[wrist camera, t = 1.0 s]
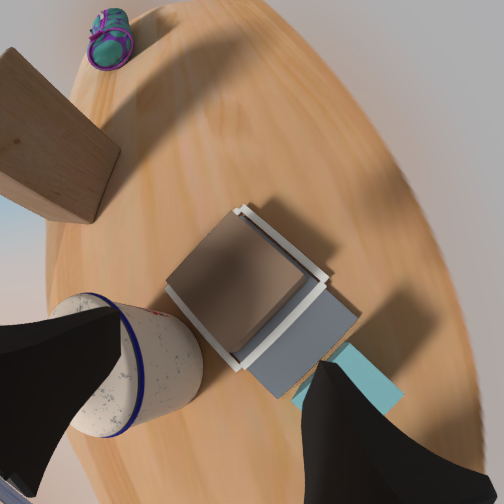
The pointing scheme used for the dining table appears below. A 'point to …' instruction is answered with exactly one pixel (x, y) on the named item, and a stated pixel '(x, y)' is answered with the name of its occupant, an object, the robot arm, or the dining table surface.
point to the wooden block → (49, 147)
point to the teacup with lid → (139, 369)
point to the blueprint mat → (286, 324)
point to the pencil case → (110, 40)
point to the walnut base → (235, 282)
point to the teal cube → (359, 379)
